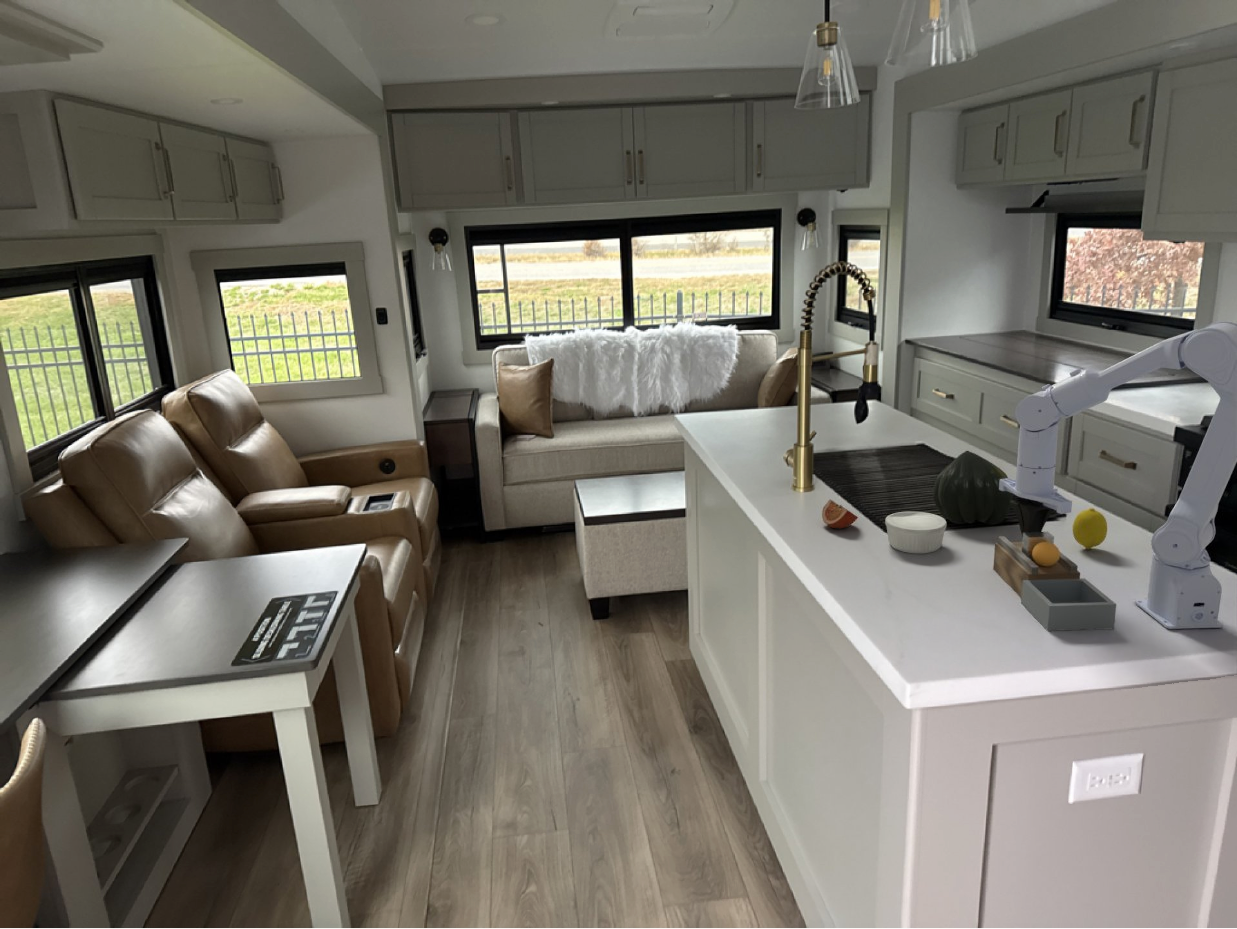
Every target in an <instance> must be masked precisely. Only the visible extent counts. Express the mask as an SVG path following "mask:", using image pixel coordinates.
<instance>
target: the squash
mask: <svg viewBox="0 0 1237 929" xmlns="http://www.w3.org/2000/svg"><path fill="white" fill-rule="evenodd" d="M1006 478H1009V477H1008V475H1007V473H1006V472H1005V471H1003V470H1002V469H1001V468H1000V467H998V466H997V465H996V464H994V463H993V462H990V461H989V460H987V459H985V458H984V457H982V456H980V455H979V454H977V453H974V452H972V451H970V450H965V451H964V452H962V453H960V454H959V455H958V456H957V457H955V459H954V460H953V461H952V462H950V463H949V464H948V465H947V466H946V467H944V469H943V470H942V471H941V472H940V473H939V474H938V476H936V479H935V480H934V481H935V482H934V484H933V489H932V490H933V491H932V497H933V502H934V504H935V507H936V509H937V510H938V513H940V514H941V515H942V516H943V518H945V519H948V521H950V523H954V524H958V525H963V524H966V523H968V524H973V523H975V522H976V521H977V522H980V523H981V522H982V523H983V524H985V525H988V526H992V525H998V524H1000V523H1002V522H1003V521H1005V519H1006V518H1007V516H1008V515H1009V512H1010V509H1011V507H1012V506H1011V505H1010V504H1011V501H1012V500H1013V495H1014V494H1013V493H1011V492H1008V491H1001V490H999V482H1000V479H1006Z"/></svg>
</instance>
